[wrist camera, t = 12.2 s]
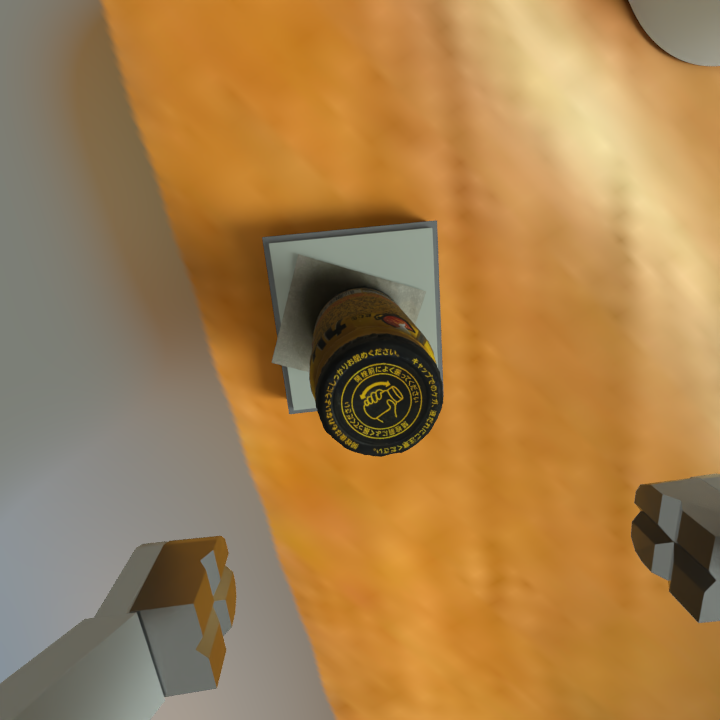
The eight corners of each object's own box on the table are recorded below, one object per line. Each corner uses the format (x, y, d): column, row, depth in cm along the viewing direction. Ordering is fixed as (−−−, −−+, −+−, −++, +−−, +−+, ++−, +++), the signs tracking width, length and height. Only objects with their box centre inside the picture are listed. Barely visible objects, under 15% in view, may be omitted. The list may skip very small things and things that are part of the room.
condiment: (392, 392, 30) (432, 492, 18) (271, 361, 29) (234, 449, 17) (425, 290, 28) (493, 332, 17) (298, 253, 27) (276, 271, 15)
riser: (267, 236, 29) (261, 237, 26) (427, 221, 30) (438, 220, 27) (292, 400, 33) (288, 416, 30) (434, 384, 33) (444, 398, 30)
